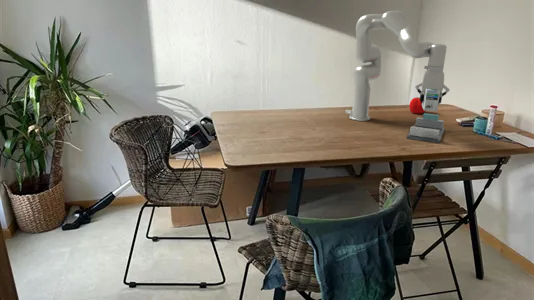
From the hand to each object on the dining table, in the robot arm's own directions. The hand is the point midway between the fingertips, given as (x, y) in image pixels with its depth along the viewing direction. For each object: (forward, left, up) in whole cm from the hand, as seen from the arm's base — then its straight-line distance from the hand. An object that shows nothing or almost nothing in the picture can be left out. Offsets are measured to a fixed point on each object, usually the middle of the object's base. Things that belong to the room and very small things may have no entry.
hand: (430, 103), depth 221 cm
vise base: (0, +2, -18) cm, 18 cm away
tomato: (-11, +48, -18) cm, 52 cm away
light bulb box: (0, 0, -3) cm, 3 cm away
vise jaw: (0, +14, -16) cm, 21 cm away
